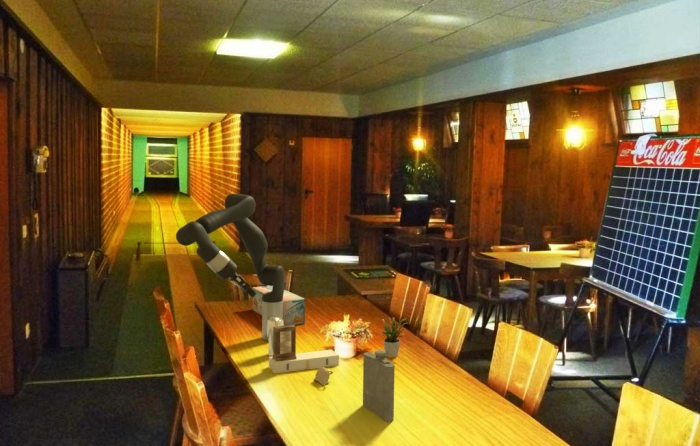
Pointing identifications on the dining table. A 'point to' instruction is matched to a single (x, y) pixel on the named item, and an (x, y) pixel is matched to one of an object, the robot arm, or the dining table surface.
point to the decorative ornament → (322, 375)
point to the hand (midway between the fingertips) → (251, 293)
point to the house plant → (392, 338)
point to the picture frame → (284, 342)
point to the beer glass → (270, 324)
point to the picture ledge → (305, 361)
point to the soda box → (291, 305)
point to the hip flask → (378, 384)
